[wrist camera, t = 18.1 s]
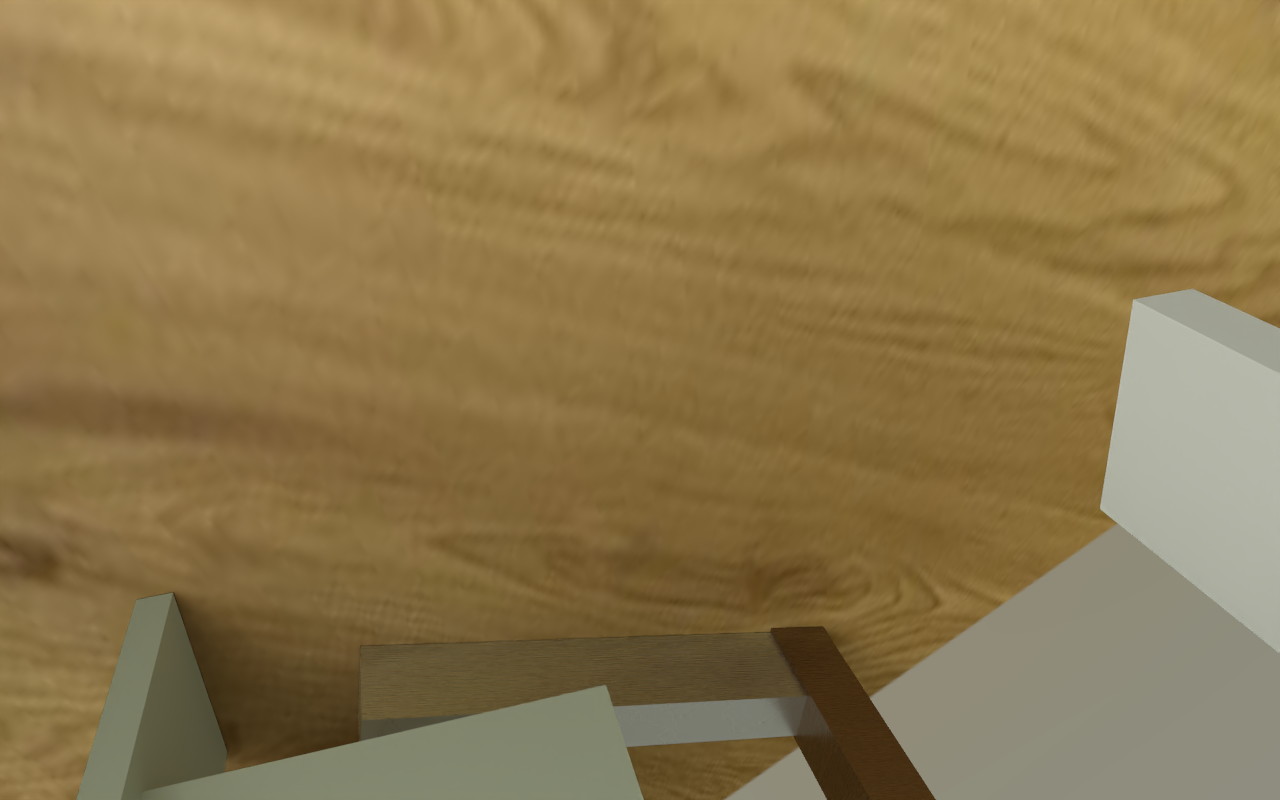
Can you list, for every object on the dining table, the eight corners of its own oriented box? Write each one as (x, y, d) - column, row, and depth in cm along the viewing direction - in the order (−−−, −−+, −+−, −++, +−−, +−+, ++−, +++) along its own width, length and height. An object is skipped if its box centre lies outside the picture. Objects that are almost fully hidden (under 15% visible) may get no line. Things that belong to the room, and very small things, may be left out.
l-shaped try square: (357, 692, 49) (361, 952, 37) (360, 641, 48) (365, 893, 36) (810, 671, 56) (938, 884, 44) (822, 626, 55) (957, 833, 43)
